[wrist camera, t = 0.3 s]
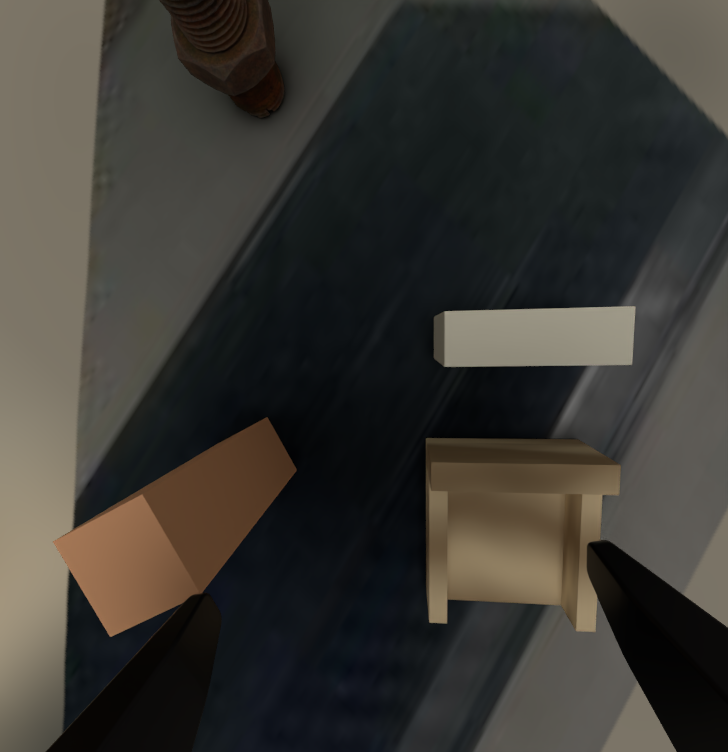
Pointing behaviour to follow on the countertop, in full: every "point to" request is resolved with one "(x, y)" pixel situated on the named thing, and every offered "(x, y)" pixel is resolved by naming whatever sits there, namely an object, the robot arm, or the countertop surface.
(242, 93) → the bolt
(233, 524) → the orange rectangular block
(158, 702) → the robot arm
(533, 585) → the cradle
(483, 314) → the stop block
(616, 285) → the countertop surface
